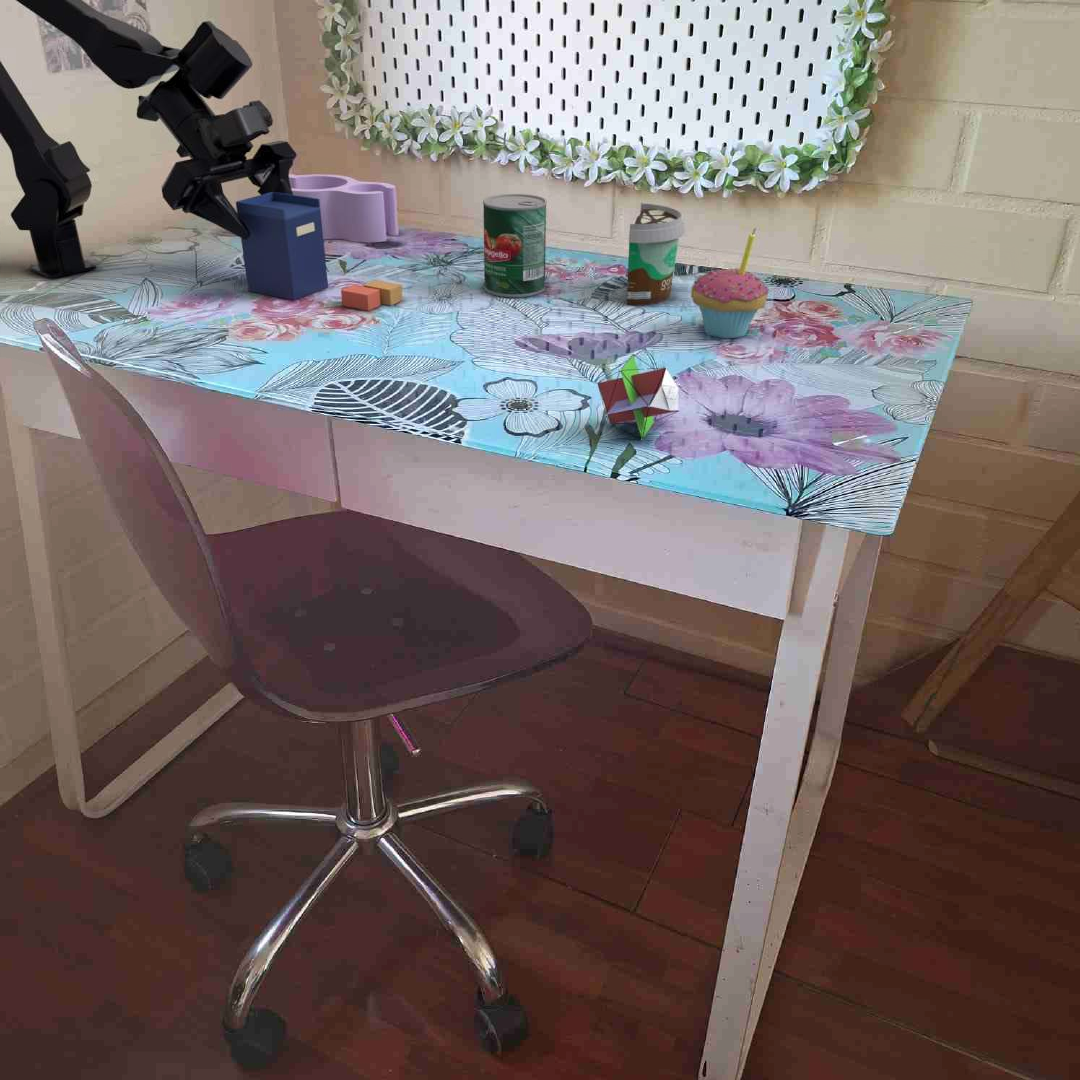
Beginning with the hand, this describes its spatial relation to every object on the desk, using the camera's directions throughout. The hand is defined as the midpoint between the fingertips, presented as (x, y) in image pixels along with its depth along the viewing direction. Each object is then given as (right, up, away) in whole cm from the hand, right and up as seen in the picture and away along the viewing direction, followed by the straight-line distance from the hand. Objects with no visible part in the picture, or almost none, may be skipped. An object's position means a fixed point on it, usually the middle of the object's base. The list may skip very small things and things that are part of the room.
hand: (274, 229), depth 123 cm
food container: (+48, -8, +3) cm, 48 cm away
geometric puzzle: (+42, -29, -32) cm, 60 cm away
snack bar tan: (+14, -7, -1) cm, 15 cm away
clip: (+1, +9, +29) cm, 30 cm away
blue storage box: (+1, -7, +3) cm, 7 cm away
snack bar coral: (+11, -8, -3) cm, 14 cm away
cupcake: (+54, -15, -9) cm, 57 cm away
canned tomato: (+30, -6, +5) cm, 31 cm away
